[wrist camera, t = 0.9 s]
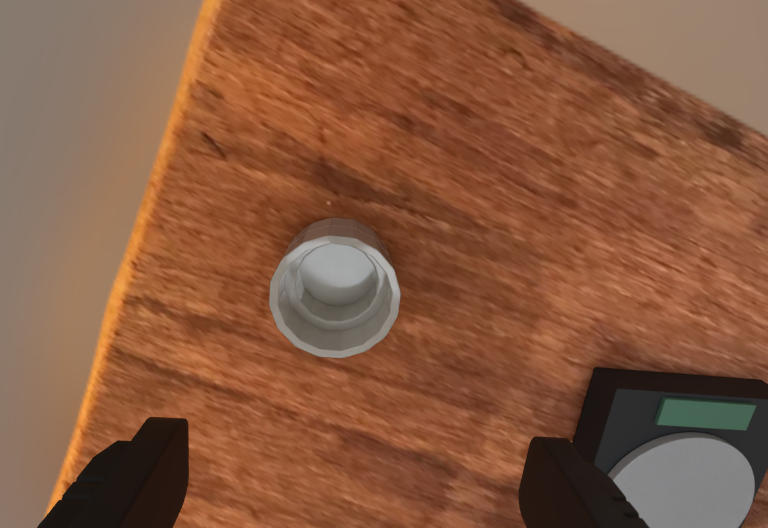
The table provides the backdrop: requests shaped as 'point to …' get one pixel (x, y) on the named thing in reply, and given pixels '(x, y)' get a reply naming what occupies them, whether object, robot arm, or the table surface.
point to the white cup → (335, 289)
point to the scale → (678, 443)
